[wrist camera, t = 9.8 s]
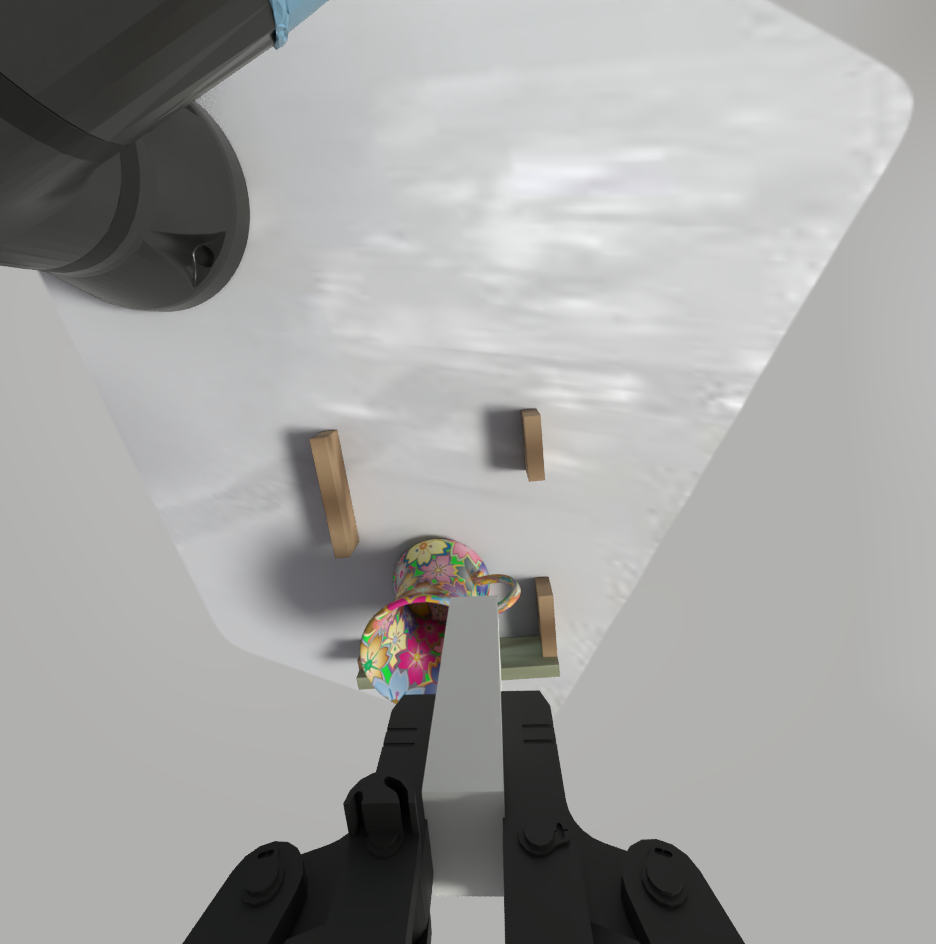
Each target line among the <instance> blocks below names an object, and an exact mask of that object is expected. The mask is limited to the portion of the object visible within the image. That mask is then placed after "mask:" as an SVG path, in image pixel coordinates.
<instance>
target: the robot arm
mask: <svg viewBox="0 0 936 944" xmlns="http://www.w3.org/2000/svg"><path fill="white" fill-rule="evenodd" d="M327 1H328V0H0V266H8V267H15V268H23V269H32V270H39V271H46V272H48V273H50V274H52V275H54V276H56V277H58V278H60V279H62V280H64V281H66V282H67V283H69V284H71V285H73V286H75V287H77V288H79V289H82V290H84V291H86V292H88V293H90V294H91V295H93V296H95V297H97V298H99V299H102V300H104V301H106V302H109V303H112V304H115V305H118V306H121V307H125V308H130V309H136V310H147V311H161V312H170V311H179V310H184V309H188V308H191V307H194V306H197V305H199V304H201V303H203V302H205V301H207V300H208V299H210V298H211V297H213V296H214V295H215V294H217V293H218V292H219V291H220V290H221V289H222V288H223V287H224V286H225V285H226V284H227V283H228V281H229V280H230V279H231V277H232V276H233V275H234V273H235V271H236V269H237V268H238V266H239V264H240V262H241V259H242V257H243V254H244V251H245V247H246V244H247V239H248V233H249V223H250V209H249V198H248V191H247V186H246V182H245V178H244V175H243V172H242V168H241V166H240V163H239V161H238V158H237V156H236V154H235V152H234V150H233V148H232V146H231V144H230V142H229V140H228V139H227V137H226V136H225V134H224V132H223V131H222V130H221V128H220V127H219V125H218V124H217V123H216V122H215V120H214V119H213V118H212V117H211V116H210V115H209V114H208V113H207V111H206V110H205V109H203V108H202V107H201V106H200V105H199V104H198V103H197V102H196V101H195V100H196V99H197V98H199V97H200V96H202V95H203V94H205V93H206V92H207V91H209V90H210V89H212V88H213V87H215V86H216V85H218V84H219V83H220V82H222V81H223V80H225V79H226V78H228V77H229V76H230V75H232V74H233V73H235V72H236V71H238V70H239V69H241V68H242V67H243V66H245V65H246V64H248V63H249V62H251V61H252V60H254V59H255V58H256V57H258V56H259V55H261V54H262V53H264V52H265V51H267V50H268V49H269V48H271V47H272V46H274V48H275V49H276V50H277V49H279V48H280V47H282V46H284V44H285V43H286V41H287V38H288V33H289V32H290V31H291V30H293V29H294V28H295V27H296V26H298V25H299V24H300V23H301V22H302V21H304V20H305V19H306V18H307V17H309V16H310V15H311V14H312V13H314V12H315V11H316V10H317V9H318V8H320V7H321V6H322V5H323V4H325V3H326V2H327ZM343 804H344V810H345V815H346V821H347V826H348V832H349V833H348V834H346V835H345V836H344V837H342V838H341V839H340V840H338V841H335V842H333V843H331V844H329V845H326V846H324V847H321V848H318V849H315V850H312V851H309V852H307V853H304V854H300V852H299V850H298V848H297V847H295V846H294V845H292V844H290V843H289V842H278V841H274V842H272V843H269V844H266V845H262V846H260V847H258V848H257V849H255V850H254V851H253V852H251V853H250V854H248V855H247V856H245V857H244V859H243V860H242V861H241V862H240V863H239V864H238V865H237V866H236V868H235V869H234V870H233V871H232V873H231V874H230V875H229V877H228V878H227V880H226V881H225V883H224V884H223V886H222V887H221V888H220V890H219V891H218V893H217V894H216V896H215V897H214V899H213V900H212V902H211V903H210V905H209V906H208V907H207V909H206V910H205V912H204V913H203V915H202V916H201V918H200V919H199V921H198V922H197V923H196V925H195V926H194V928H193V929H192V931H191V932H190V933H189V935H188V936H187V938H186V939H185V941H184V942H183V944H431V935H432V932H431V918H430V904H431V894H432V885H433V890H434V896H504V913H505V944H745V943H744V942H743V940H742V938H741V937H740V935H739V934H738V932H737V930H736V928H735V927H734V925H733V924H732V922H731V920H730V919H729V917H728V916H727V914H726V912H725V911H724V909H723V907H722V906H721V904H720V903H719V901H718V899H717V898H716V896H715V895H714V893H713V891H712V890H711V888H710V886H709V885H708V883H707V881H706V880H705V878H704V877H703V875H702V873H701V872H700V870H699V869H698V868H697V867H696V866H695V864H694V863H693V862H692V860H691V859H690V858H689V857H688V856H687V855H686V854H685V853H683V852H682V851H681V850H679V849H678V848H676V847H675V846H674V845H672V844H669V843H666V842H663V841H660V840H657V839H651V840H650V839H648V840H640V841H639V842H637V843H635V844H633V845H631V846H630V847H629V849H628V851H625V850H622V849H620V848H617V847H614V846H611V845H608V844H605V843H603V842H601V841H599V840H596V839H594V838H592V837H591V836H590V835H588V834H587V833H586V832H584V831H583V830H582V829H581V828H580V827H579V825H577V823H576V822H575V821H574V819H573V817H572V816H571V814H570V812H569V810H568V806H567V803H566V798H565V792H564V787H563V781H562V774H561V768H560V762H559V756H558V750H557V744H556V738H555V733H554V728H553V720H552V714H551V708H550V705H549V704H548V702H547V701H546V699H545V698H544V696H543V695H542V694H541V692H540V691H502V686H501V661H500V642H499V622H498V603H497V596H470V597H450V603H449V610H448V616H447V623H446V630H445V637H444V644H443V650H442V657H441V664H440V671H439V678H438V684H437V691H436V694H409V695H403V696H402V698H401V699H400V700H399V702H398V703H397V704H396V706H395V707H394V708H393V710H392V712H391V716H390V720H389V724H388V728H387V732H386V735H385V739H384V746H383V747H382V751H381V755H380V758H379V762H378V767H377V770H376V772H375V773H372V774H370V775H369V776H367V777H365V778H363V779H361V780H360V781H359V782H358V783H357V784H356V785H355V786H354V787H353V788H352V789H351V790H350V792H349V794H348V795H347V798H346V800H345V801H344V803H343Z"/></svg>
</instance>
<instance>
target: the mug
mask: <svg viewBox="0 0 936 944" xmlns="http://www.w3.org/2000/svg"><path fill="white" fill-rule="evenodd" d="M491 583H506V584H509V585H512V586H513V589H512V591H511V593H510V594H509V595H508V596H507V597H506V598H505V599H503V600H502V601H500V602H499V603H498V614H500V613H502V612H504V611H506V610H507V609H509V608H510V607H511V606H512V605H513V604H514V603H515V602H516V601H517V600H518V598H519V596H520V593H521V589H520V586H519V584H518V583H517V581H516V580H515V579H513V578H512V577H510V576H507V575H501V574H493V575H488V571H487V569H486V566H485V564H484V563H483V561H482V560H481V558H480V557H479V556H478V555H477V554H476V553H475V552H474V551H473V550H471V549H470V548H469V547H467V546H465V545H463V544H461V543H459V542H456V541H452V540H447V539H432V540H427V541H424V542H421V543H418V544H416V545H415V546H413V547H411V548H410V549H409V550H408V551H406V552H405V553H404V554H403V556H402V557H401V558H400V559H399V561H398V563H397V565H396V567H395V570H394V575H393V587H394V592H395V595H396V598H395V600H394V601H393V602H392V603H390V604H388V605H387V606H385V607H383V608H382V609H381V610H380V611H378V612H377V613H376V614H375V615H374V616H373V618H372V619H371V620H370V621H369V623H368V624H367V626H366V628H365V630H364V632H363V635H362V638H361V643H360V659H361V664H362V667H363V670H364V672H365V675H366V677H367V678H368V680H369V681H370V683H371V684H372V686H373V687H374V688H375V689H376V690H377V691H378V692H379V693H380V694H381V695H383V696H384V697H385V698H387V699H388V700H390V701H391V702H393V703H395V704H397V703H398V702H399V700H400V699H401V698H402V696H403V695H409V694H436V691H437V684H438V678H439V671H440V664H441V657H442V650H443V644H444V637H445V630H446V623H447V616H448V610H449V603H450V597H470V596H488V594H489V588H490V584H491Z"/></svg>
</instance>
